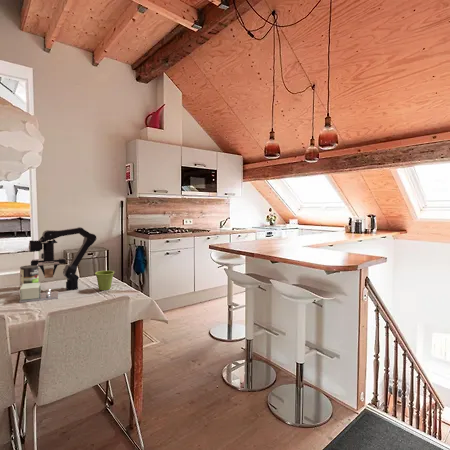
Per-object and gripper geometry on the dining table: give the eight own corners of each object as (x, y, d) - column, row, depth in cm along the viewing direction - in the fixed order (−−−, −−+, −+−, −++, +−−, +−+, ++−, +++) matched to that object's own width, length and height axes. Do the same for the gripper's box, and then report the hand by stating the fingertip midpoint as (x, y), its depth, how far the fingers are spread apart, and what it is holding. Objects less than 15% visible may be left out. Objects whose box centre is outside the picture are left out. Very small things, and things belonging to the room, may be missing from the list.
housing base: (58, 292, 191) (58, 287, 191) (57, 298, 179) (57, 292, 179) (22, 296, 182) (22, 290, 182) (19, 302, 171) (19, 296, 170)
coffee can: (42, 286, 205) (42, 265, 204) (30, 290, 195) (29, 268, 194) (29, 285, 207) (29, 264, 206) (16, 289, 197) (16, 267, 196)
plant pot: (98, 293, 192) (98, 275, 191) (92, 288, 201) (92, 272, 200) (117, 289, 200) (117, 272, 199) (110, 286, 209) (110, 269, 208)
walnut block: (53, 275, 194) (53, 268, 194) (53, 277, 190) (52, 269, 190) (45, 276, 192) (45, 268, 192) (44, 278, 188) (44, 270, 188)
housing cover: (40, 292, 186) (40, 282, 186) (38, 297, 175) (38, 287, 175) (23, 293, 182) (22, 283, 182) (20, 299, 171) (19, 289, 171)
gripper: (65, 248, 201) (65, 271, 202) (32, 249, 193) (32, 273, 194) (65, 250, 192) (65, 275, 193) (30, 252, 183) (30, 277, 184)
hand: (49, 275), depth 191 cm, fingers closed on walnut block, 4 cm apart
